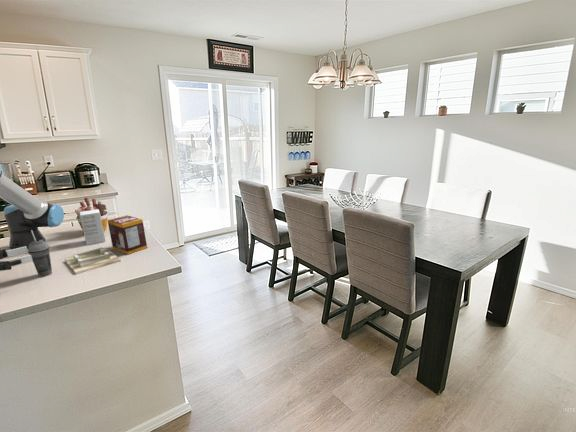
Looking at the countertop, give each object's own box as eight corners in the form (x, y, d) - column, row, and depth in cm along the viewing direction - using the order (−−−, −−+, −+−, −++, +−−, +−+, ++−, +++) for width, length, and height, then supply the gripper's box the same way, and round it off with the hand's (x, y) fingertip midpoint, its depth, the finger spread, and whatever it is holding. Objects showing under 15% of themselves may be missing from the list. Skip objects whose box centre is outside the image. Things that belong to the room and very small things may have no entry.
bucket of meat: (114, 232, 187) (107, 199, 181) (82, 238, 177) (74, 204, 171) (107, 224, 202) (101, 194, 196) (77, 230, 192) (70, 199, 186)
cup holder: (65, 261, 146) (63, 254, 145) (107, 250, 159) (105, 243, 158) (75, 274, 133) (74, 266, 132) (120, 261, 145) (119, 254, 144)
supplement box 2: (131, 242, 169) (126, 214, 165) (147, 248, 160) (143, 219, 156) (112, 248, 161) (106, 219, 157) (128, 254, 152) (122, 224, 148)
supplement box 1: (106, 241, 171) (100, 212, 166) (86, 245, 166) (79, 215, 161) (104, 237, 178) (98, 208, 174) (85, 240, 174) (79, 211, 169)
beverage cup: (44, 279, 129) (32, 233, 124) (30, 277, 131) (17, 232, 125) (60, 271, 136) (49, 227, 131) (46, 270, 138) (35, 227, 132)
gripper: (-41, 269, 123) (27, 254, 137) (-42, 291, 106) (36, 271, 120) (-47, 252, 121) (23, 238, 135) (-49, 271, 104) (31, 253, 118)
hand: (29, 253), depth 128 cm, fingers open, 13 cm apart
